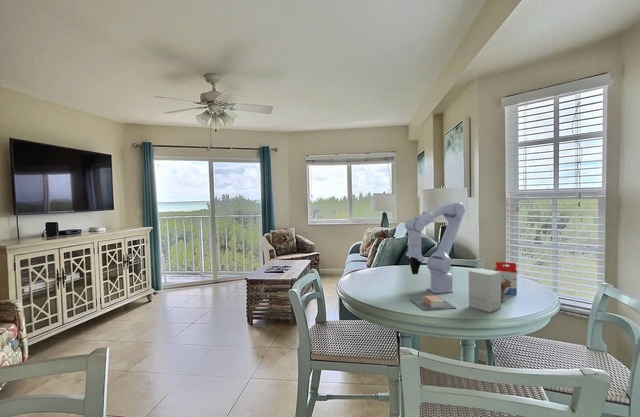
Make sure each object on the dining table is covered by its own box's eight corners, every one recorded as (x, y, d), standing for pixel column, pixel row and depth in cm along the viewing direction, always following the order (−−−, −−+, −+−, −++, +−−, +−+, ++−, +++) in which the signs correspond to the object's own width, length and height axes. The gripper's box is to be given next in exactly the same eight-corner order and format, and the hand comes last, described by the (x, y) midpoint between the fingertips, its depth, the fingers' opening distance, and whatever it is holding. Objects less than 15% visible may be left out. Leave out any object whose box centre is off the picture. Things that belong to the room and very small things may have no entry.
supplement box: (502, 308, 128) (502, 271, 127) (489, 313, 123) (489, 274, 122) (480, 302, 135) (480, 267, 135) (467, 306, 130) (467, 270, 130)
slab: (435, 295, 136) (443, 300, 129) (435, 301, 136) (443, 306, 129) (424, 296, 136) (431, 301, 129) (424, 302, 136) (431, 307, 129)
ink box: (515, 292, 149) (515, 261, 149) (516, 295, 145) (516, 263, 144) (494, 290, 153) (494, 259, 152) (495, 293, 148) (495, 261, 148)
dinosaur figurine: (497, 296, 143) (497, 276, 143) (511, 299, 138) (511, 278, 138) (480, 302, 136) (480, 280, 136) (494, 305, 131) (494, 283, 131)
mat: (439, 297, 142) (439, 297, 142) (456, 308, 128) (456, 307, 128) (409, 299, 140) (409, 298, 140) (423, 310, 127) (423, 309, 127)
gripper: (400, 242, 152) (400, 270, 153) (412, 247, 138) (413, 278, 138) (414, 242, 153) (414, 270, 154) (428, 246, 139) (428, 277, 139)
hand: (414, 274), depth 146 cm, fingers closed
